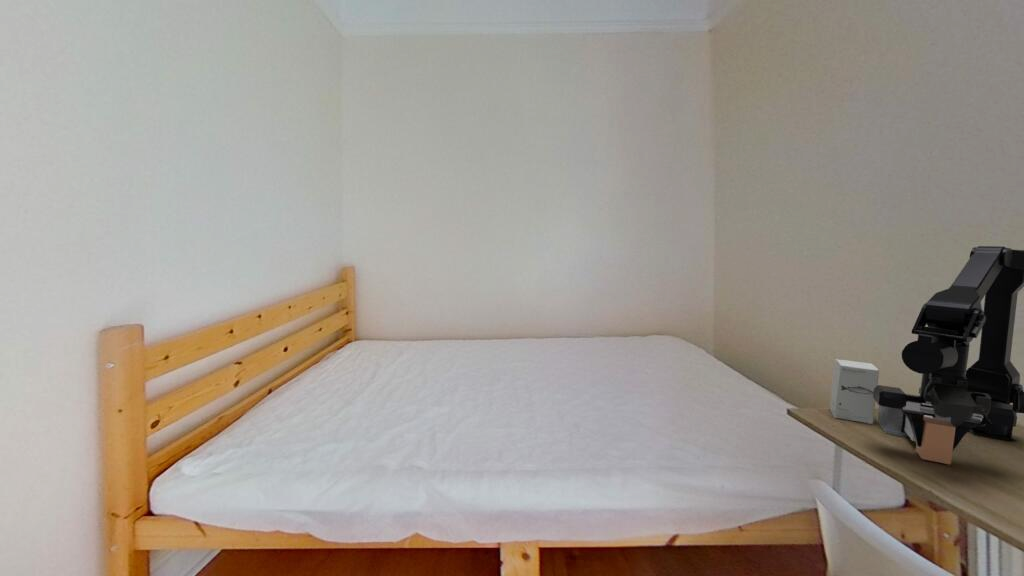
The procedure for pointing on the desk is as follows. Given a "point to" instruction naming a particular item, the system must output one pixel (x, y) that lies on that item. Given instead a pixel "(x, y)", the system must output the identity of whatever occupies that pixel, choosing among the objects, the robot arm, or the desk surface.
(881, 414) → the block
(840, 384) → the supplement box
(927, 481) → the desk surface
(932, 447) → the cover
